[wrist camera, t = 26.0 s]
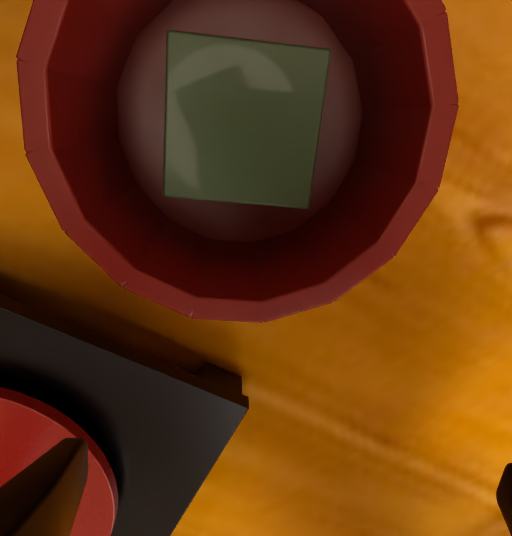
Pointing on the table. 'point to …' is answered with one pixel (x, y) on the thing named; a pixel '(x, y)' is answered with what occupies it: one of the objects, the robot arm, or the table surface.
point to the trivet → (126, 410)
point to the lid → (43, 439)
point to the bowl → (226, 213)
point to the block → (242, 119)
